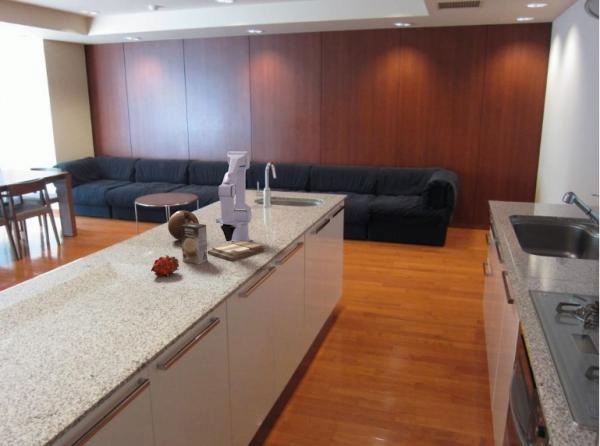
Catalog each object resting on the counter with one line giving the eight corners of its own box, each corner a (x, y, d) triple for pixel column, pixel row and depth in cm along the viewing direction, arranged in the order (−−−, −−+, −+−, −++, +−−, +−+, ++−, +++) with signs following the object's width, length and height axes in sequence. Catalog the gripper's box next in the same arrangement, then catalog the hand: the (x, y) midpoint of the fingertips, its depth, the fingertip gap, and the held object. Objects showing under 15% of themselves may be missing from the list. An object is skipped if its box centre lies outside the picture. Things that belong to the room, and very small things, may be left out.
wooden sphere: (168, 237, 249) (166, 208, 245) (198, 235, 253) (196, 206, 250) (170, 245, 235) (167, 215, 231) (201, 242, 240) (200, 212, 236)
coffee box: (182, 261, 211) (179, 225, 207) (191, 257, 217) (189, 222, 213) (199, 264, 207) (197, 227, 203) (208, 260, 213) (206, 224, 209)
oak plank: (212, 250, 222) (212, 247, 222) (229, 245, 230) (229, 242, 229) (233, 256, 213) (233, 253, 213) (250, 250, 221) (250, 248, 220)
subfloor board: (207, 253, 222) (207, 248, 221) (240, 244, 236) (240, 239, 236) (231, 261, 212) (231, 255, 211) (264, 250, 226) (264, 245, 226)
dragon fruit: (182, 275, 198) (155, 286, 191) (172, 260, 202) (144, 270, 195) (185, 263, 192) (156, 274, 185) (174, 247, 196) (146, 257, 189)
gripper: (210, 210, 218) (211, 239, 221) (231, 215, 209) (232, 245, 212) (222, 207, 223) (223, 236, 226) (244, 212, 214) (244, 242, 217)
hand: (228, 240), depth 220 cm, fingers closed
